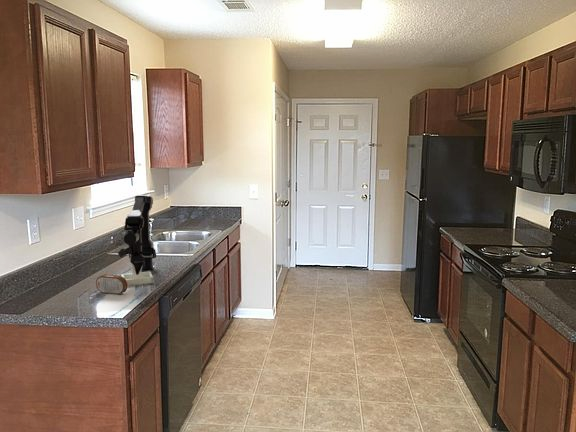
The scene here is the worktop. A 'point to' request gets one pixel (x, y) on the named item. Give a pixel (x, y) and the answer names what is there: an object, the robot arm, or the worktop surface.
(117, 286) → the tin
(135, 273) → the cream block
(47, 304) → the worktop surface
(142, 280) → the tray
